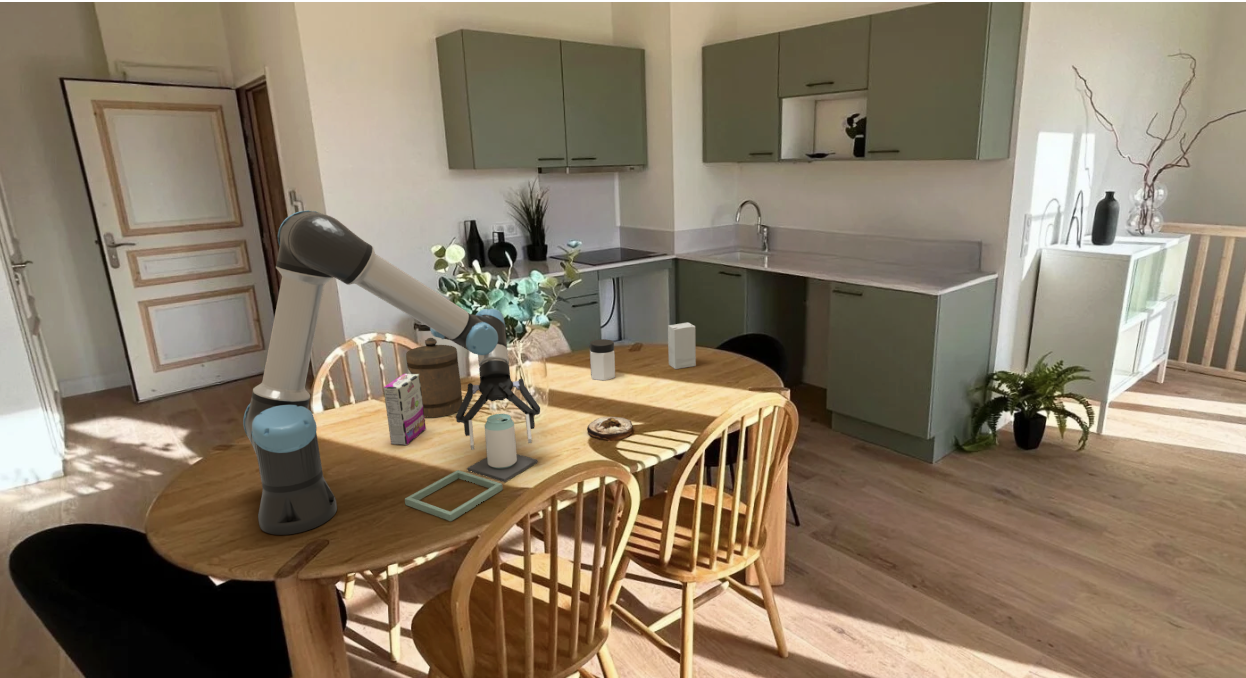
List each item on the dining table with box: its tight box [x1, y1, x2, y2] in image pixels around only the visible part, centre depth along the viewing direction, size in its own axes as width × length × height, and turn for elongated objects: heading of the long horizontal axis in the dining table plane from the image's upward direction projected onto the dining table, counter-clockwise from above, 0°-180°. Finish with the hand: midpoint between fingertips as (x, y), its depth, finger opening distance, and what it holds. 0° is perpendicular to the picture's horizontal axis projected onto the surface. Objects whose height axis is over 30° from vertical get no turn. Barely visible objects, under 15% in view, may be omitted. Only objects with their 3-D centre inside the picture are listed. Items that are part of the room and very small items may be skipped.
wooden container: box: [405, 337, 463, 419], centre depth 205 cm, size 15×15×22 cm
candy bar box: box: [382, 373, 427, 446], centre depth 186 cm, size 11×5×16 cm, turn 168°
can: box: [484, 413, 517, 469], centre depth 167 cm, size 7×7×12 cm
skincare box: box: [667, 322, 697, 370], centre depth 241 cm, size 8×6×15 cm
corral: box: [404, 469, 504, 522], centre depth 154 cm, size 16×14×2 cm
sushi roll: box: [586, 416, 634, 443], centre depth 188 cm, size 15×15×4 cm
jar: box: [589, 338, 616, 381], centre depth 232 cm, size 9×8×12 cm
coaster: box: [466, 453, 539, 483], centre depth 169 cm, size 12×12×1 cm
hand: (501, 444), depth 165 cm, fingers open, 13 cm apart
